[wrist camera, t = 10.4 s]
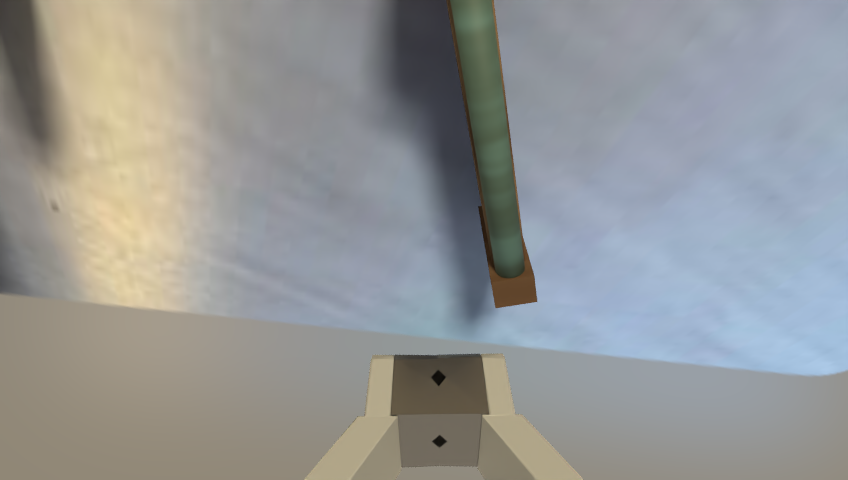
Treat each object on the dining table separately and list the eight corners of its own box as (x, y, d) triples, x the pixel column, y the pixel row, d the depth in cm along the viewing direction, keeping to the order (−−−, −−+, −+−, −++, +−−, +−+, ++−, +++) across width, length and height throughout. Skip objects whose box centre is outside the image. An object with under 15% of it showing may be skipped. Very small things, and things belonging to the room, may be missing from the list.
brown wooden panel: (423, -104, 20) (420, -115, 14) (470, -117, 20) (488, -133, 14) (482, 228, 29) (495, 308, 23) (514, 223, 29) (537, 301, 23)
